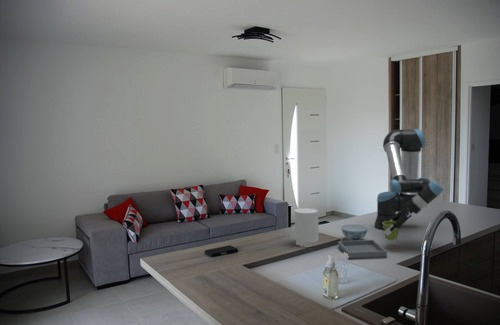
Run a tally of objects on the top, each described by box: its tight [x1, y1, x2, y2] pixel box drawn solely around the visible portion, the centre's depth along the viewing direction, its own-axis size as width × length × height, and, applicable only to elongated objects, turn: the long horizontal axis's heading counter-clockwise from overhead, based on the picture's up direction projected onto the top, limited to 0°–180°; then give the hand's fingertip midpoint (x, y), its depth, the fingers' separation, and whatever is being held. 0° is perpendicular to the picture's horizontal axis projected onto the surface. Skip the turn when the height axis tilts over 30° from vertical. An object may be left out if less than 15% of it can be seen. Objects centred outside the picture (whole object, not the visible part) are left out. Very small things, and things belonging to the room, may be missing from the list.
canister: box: [294, 207, 319, 243], centre depth 225 cm, size 14×14×20 cm
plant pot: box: [382, 221, 400, 241], centre depth 214 cm, size 9×9×9 cm
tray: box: [337, 239, 388, 260], centre depth 208 cm, size 20×20×4 cm
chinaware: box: [341, 224, 369, 241], centre depth 229 cm, size 15×15×8 cm
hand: (385, 231), depth 215 cm, fingers closed on plant pot, 9 cm apart
